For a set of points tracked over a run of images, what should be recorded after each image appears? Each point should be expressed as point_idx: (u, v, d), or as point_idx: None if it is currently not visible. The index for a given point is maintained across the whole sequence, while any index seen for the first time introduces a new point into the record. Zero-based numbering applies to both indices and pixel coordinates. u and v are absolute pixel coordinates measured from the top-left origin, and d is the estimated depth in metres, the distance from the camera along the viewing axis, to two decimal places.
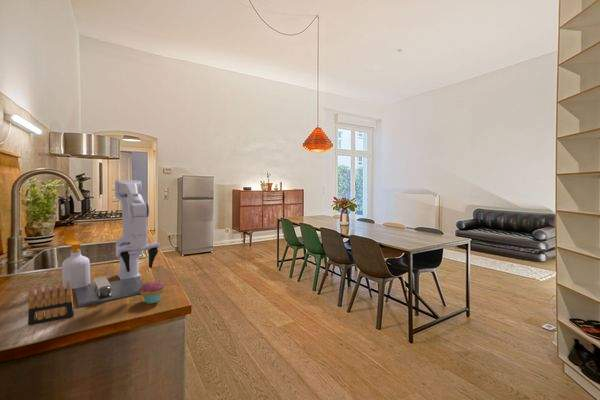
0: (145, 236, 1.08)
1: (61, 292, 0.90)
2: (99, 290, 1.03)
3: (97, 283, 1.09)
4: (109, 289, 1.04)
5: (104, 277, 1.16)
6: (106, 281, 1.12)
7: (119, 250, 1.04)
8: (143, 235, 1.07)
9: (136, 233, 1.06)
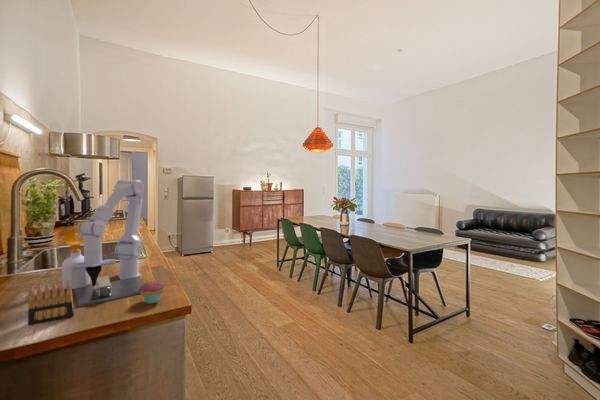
0: (99, 253, 1.11)
1: (61, 292, 0.90)
2: (99, 290, 1.03)
3: (98, 283, 1.10)
4: (109, 289, 1.04)
5: (106, 276, 1.17)
6: (108, 280, 1.12)
7: (72, 267, 1.06)
8: (96, 252, 1.10)
9: (84, 250, 1.09)
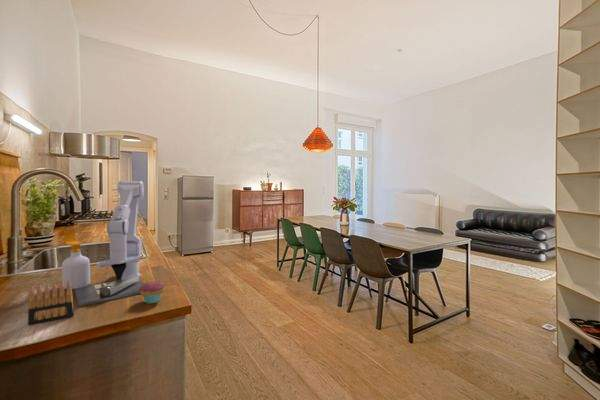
0: (124, 251, 1.15)
1: (61, 291, 0.90)
2: None
3: (117, 280, 1.12)
4: (105, 290, 1.03)
5: (135, 275, 1.19)
6: (126, 280, 1.13)
7: (99, 265, 1.11)
8: (122, 250, 1.14)
9: (112, 248, 1.12)
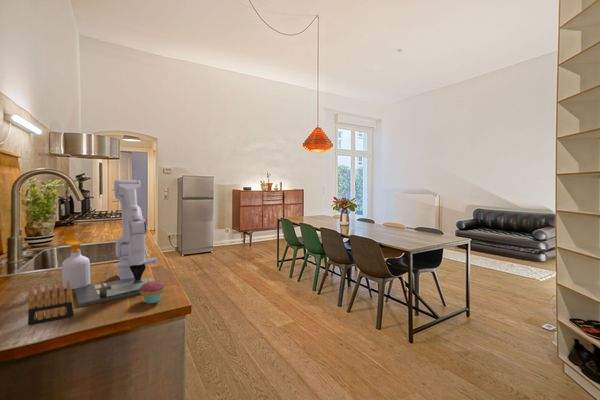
0: (143, 252, 1.14)
1: (61, 292, 0.90)
2: None
3: (128, 282, 1.11)
4: (101, 290, 1.03)
5: (150, 280, 1.14)
6: (133, 283, 1.10)
7: (118, 266, 1.10)
8: (141, 251, 1.13)
9: (134, 249, 1.12)
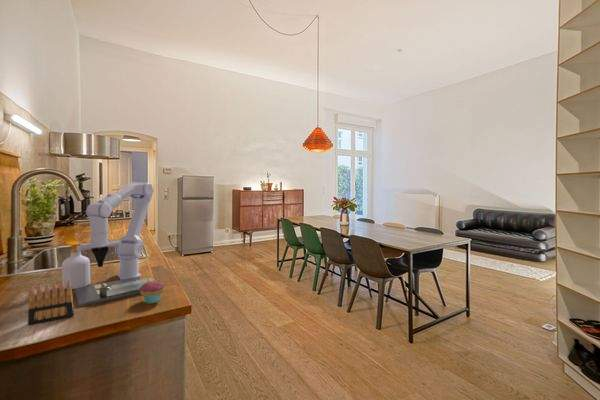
0: (105, 234, 1.12)
1: (61, 292, 0.90)
2: None
3: (128, 282, 1.11)
4: (101, 290, 1.03)
5: (150, 280, 1.14)
6: (133, 283, 1.10)
7: (78, 248, 1.08)
8: (103, 233, 1.12)
9: (91, 231, 1.10)
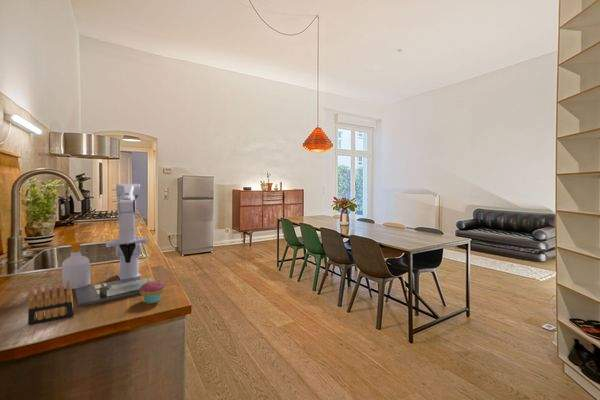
0: (133, 231, 1.16)
1: (61, 292, 0.90)
2: None
3: (128, 282, 1.11)
4: (101, 290, 1.03)
5: (150, 280, 1.14)
6: (133, 283, 1.10)
7: (108, 244, 1.11)
8: (131, 230, 1.15)
9: (123, 228, 1.13)
